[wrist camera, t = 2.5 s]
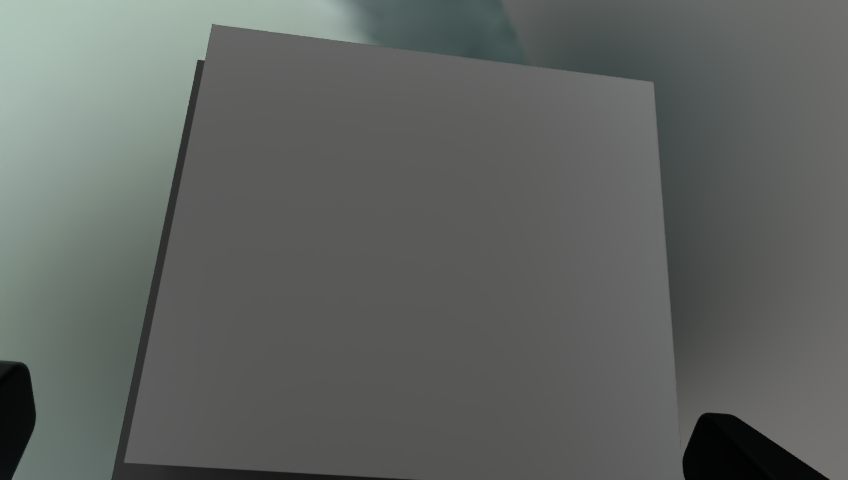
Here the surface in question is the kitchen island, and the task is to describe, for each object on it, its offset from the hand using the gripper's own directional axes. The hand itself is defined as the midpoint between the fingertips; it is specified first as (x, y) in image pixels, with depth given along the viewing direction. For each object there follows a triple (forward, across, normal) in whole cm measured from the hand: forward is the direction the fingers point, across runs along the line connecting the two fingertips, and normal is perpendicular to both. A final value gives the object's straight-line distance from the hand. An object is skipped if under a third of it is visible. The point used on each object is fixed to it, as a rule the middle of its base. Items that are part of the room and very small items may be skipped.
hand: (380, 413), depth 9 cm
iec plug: (+7, 0, +6) cm, 9 cm away
